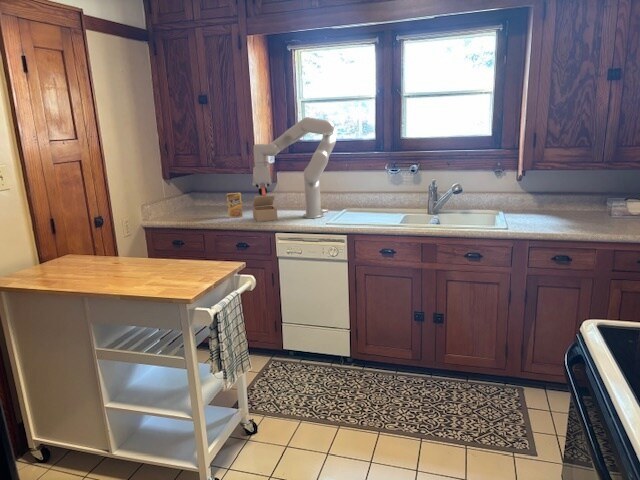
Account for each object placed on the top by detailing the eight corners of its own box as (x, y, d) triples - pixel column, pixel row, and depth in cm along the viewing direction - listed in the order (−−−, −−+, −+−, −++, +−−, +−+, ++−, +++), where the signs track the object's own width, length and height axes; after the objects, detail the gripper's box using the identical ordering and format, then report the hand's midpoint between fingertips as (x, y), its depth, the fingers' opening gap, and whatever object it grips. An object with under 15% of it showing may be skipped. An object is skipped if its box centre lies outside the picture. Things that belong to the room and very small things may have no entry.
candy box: (229, 218, 309) (226, 194, 306) (228, 217, 313) (226, 193, 310) (242, 216, 312) (241, 193, 308) (241, 215, 316) (240, 192, 312)
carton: (273, 216, 309) (273, 205, 308) (277, 220, 298) (276, 208, 296) (253, 218, 306) (252, 207, 304) (256, 222, 294) (255, 210, 292)
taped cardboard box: (272, 205, 307) (270, 195, 310) (274, 195, 297) (272, 185, 299) (253, 206, 304) (251, 197, 307) (254, 196, 293) (252, 186, 296)
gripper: (272, 163, 301) (274, 192, 306) (246, 165, 297) (249, 195, 301) (275, 164, 294) (277, 194, 299) (248, 166, 290) (251, 196, 294)
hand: (263, 194), depth 300 cm, fingers closed on taped cardboard box, 2 cm apart
